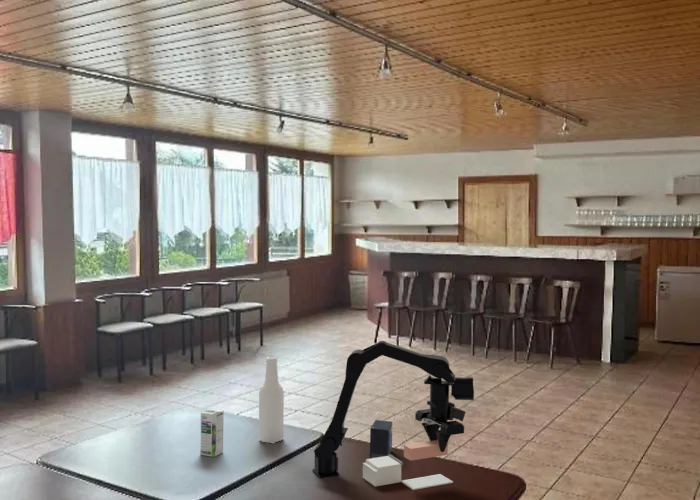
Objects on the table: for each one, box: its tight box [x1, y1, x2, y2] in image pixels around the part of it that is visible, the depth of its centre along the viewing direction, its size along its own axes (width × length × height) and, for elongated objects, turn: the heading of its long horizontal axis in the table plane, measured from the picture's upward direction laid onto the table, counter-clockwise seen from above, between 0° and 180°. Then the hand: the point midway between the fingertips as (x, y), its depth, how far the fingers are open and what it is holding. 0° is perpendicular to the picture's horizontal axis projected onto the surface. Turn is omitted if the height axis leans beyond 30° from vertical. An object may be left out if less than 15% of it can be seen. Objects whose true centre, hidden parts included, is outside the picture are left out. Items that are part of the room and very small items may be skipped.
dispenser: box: [362, 453, 404, 487], centre depth 202 cm, size 10×8×6 cm
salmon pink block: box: [403, 440, 449, 461], centre depth 199 cm, size 13×4×4 cm, turn 115°
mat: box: [400, 473, 454, 491], centre depth 200 cm, size 14×7×1 cm, turn 115°
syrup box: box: [199, 408, 225, 458], centre depth 223 cm, size 6×6×14 cm
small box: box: [368, 419, 393, 459], centre depth 224 cm, size 11×6×10 cm, turn 168°
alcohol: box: [258, 356, 285, 443], centre depth 238 cm, size 9×9×30 cm
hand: (438, 449), depth 201 cm, fingers closed on salmon pink block, 4 cm apart
